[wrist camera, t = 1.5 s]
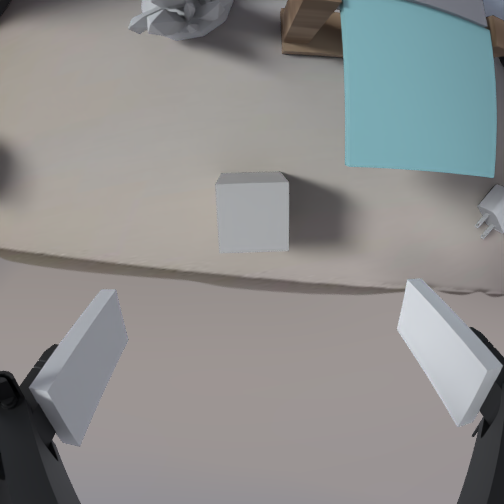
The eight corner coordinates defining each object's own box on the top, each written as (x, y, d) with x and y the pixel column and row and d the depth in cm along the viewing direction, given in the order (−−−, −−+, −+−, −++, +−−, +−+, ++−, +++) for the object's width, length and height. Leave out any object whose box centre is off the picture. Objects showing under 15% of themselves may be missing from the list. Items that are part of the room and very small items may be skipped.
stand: (280, 12, 26) (300, -47, 14) (439, 37, 26) (509, 15, 14) (282, 53, 28) (304, 11, 16) (442, 74, 28) (517, 65, 16)
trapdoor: (320, -46, 17) (334, -74, 13) (452, -14, 17) (480, -28, 13) (331, 159, 24) (351, 167, 20) (464, 169, 24) (497, 179, 20)
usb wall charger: (503, 204, 34) (522, 212, 30) (475, 238, 36) (492, 248, 32) (493, 183, 33) (512, 189, 29) (464, 217, 35) (482, 226, 31)
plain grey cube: (221, 173, 32) (215, 184, 26) (279, 171, 33) (289, 182, 26) (224, 229, 35) (219, 253, 28) (280, 227, 35) (288, 250, 28)
